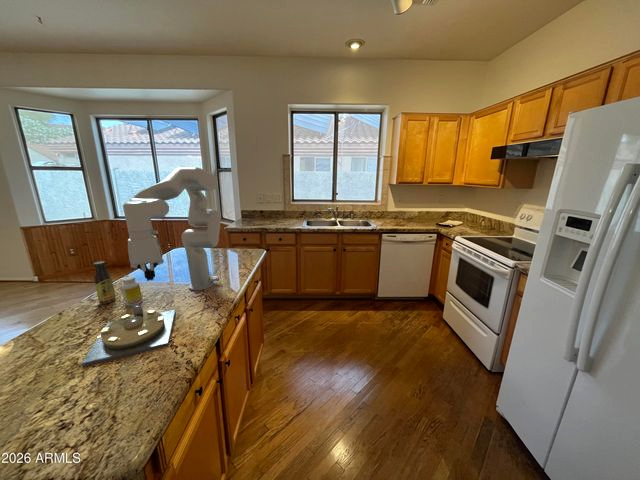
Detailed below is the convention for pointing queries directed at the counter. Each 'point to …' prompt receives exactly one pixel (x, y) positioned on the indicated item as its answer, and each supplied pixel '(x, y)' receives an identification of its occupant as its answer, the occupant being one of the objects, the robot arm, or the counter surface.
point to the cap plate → (104, 354)
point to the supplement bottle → (131, 291)
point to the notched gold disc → (132, 329)
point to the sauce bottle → (103, 284)
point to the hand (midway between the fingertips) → (150, 279)
